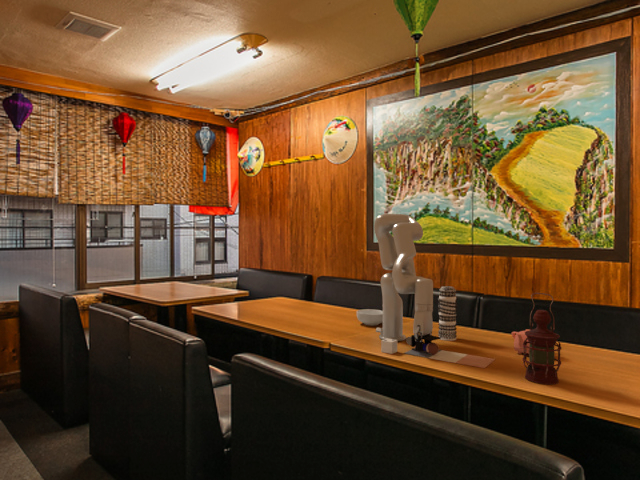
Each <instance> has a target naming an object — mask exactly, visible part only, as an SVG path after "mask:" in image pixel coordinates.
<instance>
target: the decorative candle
mask: <svg viewBox="0 0 640 480" xmlns="http://www.w3.org/2000/svg"><path fill="white" fill-rule="evenodd" d="M456 292H457V289H456V288H455V287H454V286H450V285H445V286H441V287H440V288H439V297H438V298H437V304H438V305H437V308H438V309H437V310H438V315H439V319H438V324H437V325H438V327H437V329H439V330H438V331H437V332H438V334H437V337H441V339H440V340H441V341H448V342H449V341H456V340H457V332H458V331H456V330H457V320H456V319H457V318H456V316H457V314H458V313H457V312H458V310H457V309H456V308H458V302H456V301H458V300H459V299H458V298H457V296H456V295H457V293H456Z"/></svg>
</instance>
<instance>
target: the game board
mask: <svg viewBox="0 0 640 480" xmlns="http://www.w3.org/2000/svg"><path fill="white" fill-rule="evenodd" d="M403 354H405V355H411V356H415V357H421V358H426V359H432V360H437V361H443V362H448V363H453V364H454V363H455V364H457V365H458V364H459V365H464V366H469V367H476V368H479V369H480V368H481V369H486V368H487V367H488V366H489V365H491V364H492V363H494V362H495V361H496V358H491V357H485V356H479V355H473V354H469V353H460V352H455V351H450V350H442V349H439V350H438V352H437V353H436V354H434V355H431V354H429V353H428V352H427V351H422V352H421V351H416V350H414V349H412V348H411V349H410V350H408V351H405V352H404V353H403Z"/></svg>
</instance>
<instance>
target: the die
mask: <svg viewBox="0 0 640 480" xmlns="http://www.w3.org/2000/svg"><path fill="white" fill-rule="evenodd" d="M380 341H381V344H380V345H381V347H380V348H381V349H380V352H381V353H385V354H389V355H393V354H394V353H397V352H398V341H397V340H394V339H388V338H387V339H384V340H382V339H380Z"/></svg>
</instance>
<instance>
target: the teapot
mask: <svg viewBox="0 0 640 480" xmlns="http://www.w3.org/2000/svg"><path fill="white" fill-rule="evenodd" d="M530 330H531V329H530V328H529V329H527V328H526V329H525V330H520V331H512V332H511V337H512V338H513V339H514V340H513V341H514V342H513V348H514V351H515V352H517V354H518V355H523V354H524V347H523V343H524V341H525V339H526V338H527V336H526V335H525V332H526V331H530ZM527 342H528V340H527ZM526 346H530V343H527V345H526ZM526 354H527V355H529V348H526Z"/></svg>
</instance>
